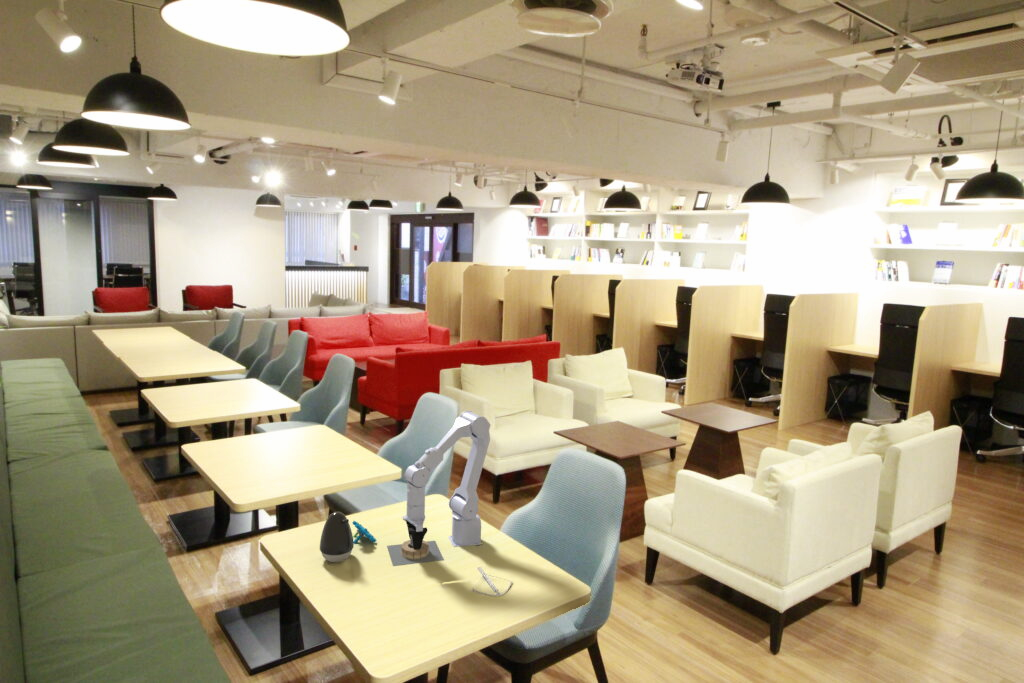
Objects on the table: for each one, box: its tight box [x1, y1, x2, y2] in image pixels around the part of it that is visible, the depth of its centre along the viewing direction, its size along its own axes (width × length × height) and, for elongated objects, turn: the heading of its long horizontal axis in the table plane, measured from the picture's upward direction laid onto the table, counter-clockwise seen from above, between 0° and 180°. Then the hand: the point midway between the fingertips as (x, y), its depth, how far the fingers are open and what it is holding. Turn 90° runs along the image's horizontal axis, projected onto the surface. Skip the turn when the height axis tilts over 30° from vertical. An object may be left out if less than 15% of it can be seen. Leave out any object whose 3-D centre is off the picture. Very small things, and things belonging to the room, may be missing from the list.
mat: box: [386, 540, 445, 567], centre depth 208 cm, size 16×14×1 cm
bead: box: [401, 539, 429, 559], centre depth 208 cm, size 8×8×2 cm
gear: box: [352, 520, 377, 544], centre depth 215 cm, size 11×6×10 cm
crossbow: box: [471, 566, 513, 597], centre depth 193 cm, size 16×13×2 cm
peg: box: [409, 535, 414, 549], centre depth 208 cm, size 3×3×6 cm
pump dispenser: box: [319, 511, 355, 563], centre depth 202 cm, size 10×10×15 cm
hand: (415, 543), depth 208 cm, fingers open, 7 cm apart
